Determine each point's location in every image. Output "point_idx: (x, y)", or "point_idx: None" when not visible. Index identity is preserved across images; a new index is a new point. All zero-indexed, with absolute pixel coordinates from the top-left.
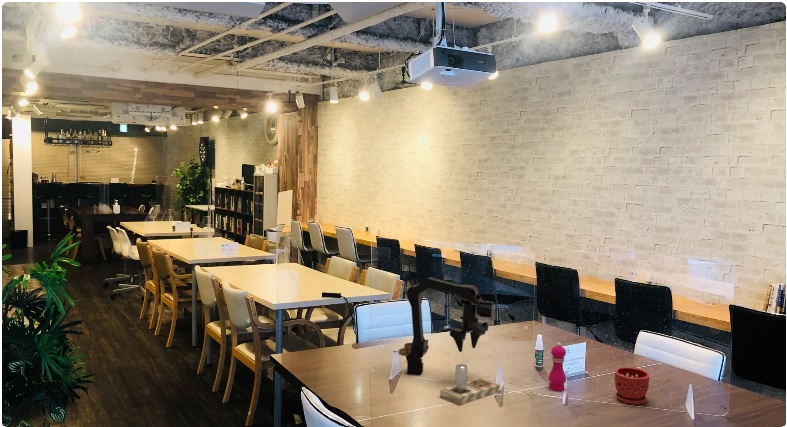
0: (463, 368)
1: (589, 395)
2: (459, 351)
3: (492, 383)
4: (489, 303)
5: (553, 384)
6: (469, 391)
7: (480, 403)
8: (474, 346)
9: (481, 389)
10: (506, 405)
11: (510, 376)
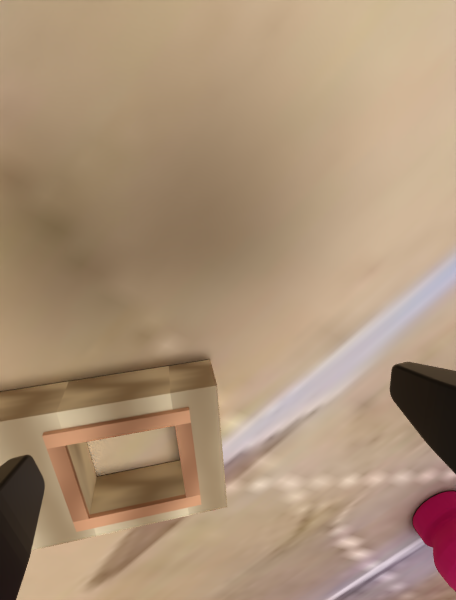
0: None
1: None
2: (9, 468)
3: (208, 480)
4: None
5: (433, 540)
6: None
7: None
8: (411, 419)
9: (78, 529)
10: (126, 581)
11: (451, 334)
